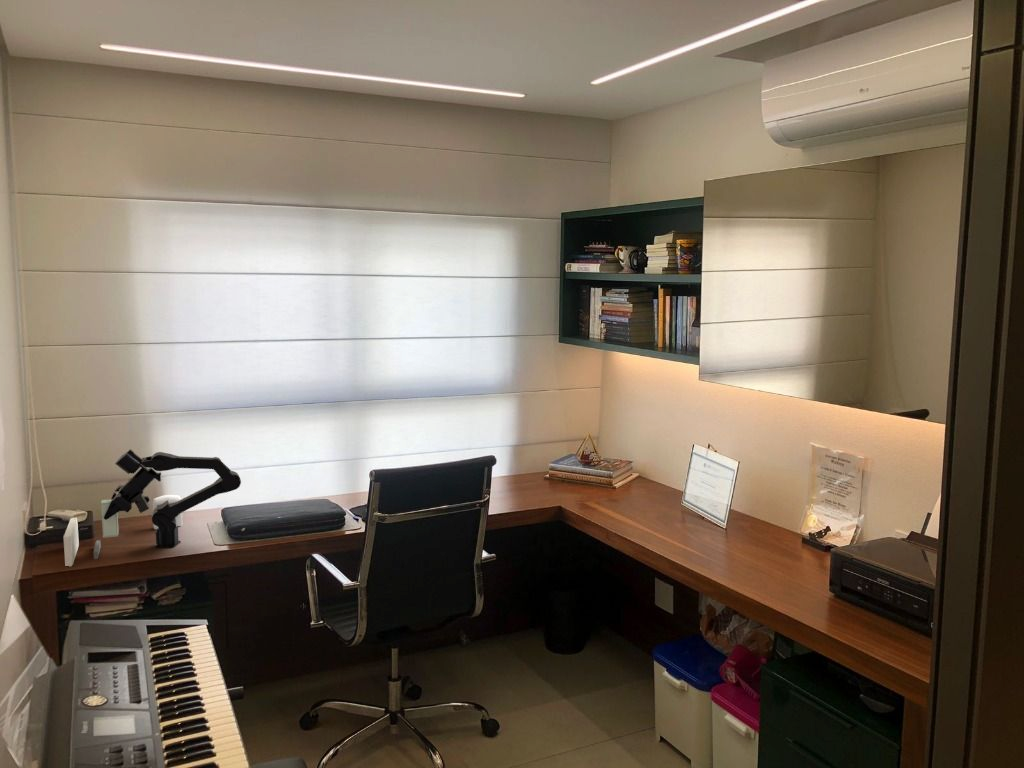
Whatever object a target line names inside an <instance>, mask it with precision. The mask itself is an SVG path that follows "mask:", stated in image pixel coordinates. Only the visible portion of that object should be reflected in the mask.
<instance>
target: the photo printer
mask: <svg viewBox="0 0 1024 768" xmlns="http://www.w3.org/2000/svg"><path fill="white" fill-rule="evenodd" d="M181 499H182V498H181V496H180V495H176V494H165V495H160V496H157V497H155V498H153V501H152V511H153V510H154V509H155V508H157V505H160V504H163V503H164V502H165V501H167V500H168V502H169V504H170V503H175V502H177V501H179V500H181ZM152 524H153V523H152ZM177 526H178V527H182V526H183V512H182V513H180V514H179V515H178V516H177V517H176V527H177ZM153 529H154V530H157V529H158V526H156V525H154V524H153Z"/></svg>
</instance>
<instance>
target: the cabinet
mask: <svg viewBox="0 0 1024 768" xmlns="http://www.w3.org/2000/svg"><path fill="white" fill-rule="evenodd" d="M111 501H112V499H101V503H100V508H101V509H100V510H101V527H102V538H115V537H119V517H118V516H119V515H118V513H119V512H118V513H116V514H114V515H113V516H111V517H110V518H108V519H107V520H105V519H104V516H105V513H106V511H107V509H108V507H109V505H110V503H111Z"/></svg>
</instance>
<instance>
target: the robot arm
mask: <svg viewBox="0 0 1024 768" xmlns="http://www.w3.org/2000/svg"><path fill="white" fill-rule="evenodd" d="M114 464H115V466H117V467H118V468H120V469H121V470H122V471H124V472H125V473H126V474H128V475H129V474H131V475H132V474H133V476H132V477H130V478H129V479H128V480H127V482H126V483H125V484H122V485H121V484H120V485H117V487H116V488H115V489H114V492H113V493H112V495H111V499H112V501H111V503H110V505H109V507H108V509H107V511H106V513H105V516H104V519H105V520H107V519H108V518H110V517H111V516H113V515H114V514H116V513H119V512H125V513H129V512H130V511H131V509H132V508H133V504H135V505H136V507H137V509H138V512H139V513H140V514H142V513H144V512H146V511H147V510H149V509H150V505H149V502H150V500H151V498H150V497H149V496H148V495H144V490H145V489H146V488H147V487H148V486H149V485H150V484H151V483H152V482H153V481H154V480H156V481H158V482H161V480H162V479H161V476H162V473H161V472H165V471H171V470H176V469H191V470H192V469H193V470H194V469H196V470H197V469H200V470H201V469H202V470H213V471H214V472H215V473H216V474H217V475H218V476H219V477H218V478H217V479H216V480H215V481H214V482H213V483H210V485H208V486H207V485H206V486H205V487H204V488H201V489H200V490H198V491H195V492H193V493H192V494H189V495H187V496H186V497H183V498H181V500H179V501H177V502H175V503H170V504H169V502H168V500H167V501H165V502H164V503H163V504H160V505H157V508H155V509H154V510H153V509H152V512H151V522H152V524H154V525H156V526H158V529H156V532H155V546H154V547H155V548H175V547H176V546H177V545H179V544H181V542H182V541H181V540H180V539H179V526H178V527H176V517H177V516H178V515H179V514H180V513H182V514H183V513H185V512H186V511H188V510H190V509H192V508H194V507H195V506H198V505H199V504H201V503H204V502H205V501H207V500H210V499H212V498H214V497H215V496H217V495H220V494H225V493H229V492H233V491H235V490H238V489H239V488H240V486H241V484H242V480H241V477H240V475H239V474H238V472H236V471H233V470H231V469H230V468H229V467H228V466H227V465H226V464H225V463H224V462H223V461H222V460H221V459H220V458H219V457H217V456H214V457H211V456H210V457H206V456H204V457H203V456H181V455H180V456H179V455H175V454H172V453H168V452H167V453H166V452H162V451H157V452H155V453H154V454H153V455H151V456H145V457H140V456H139V455H138V454H137V453H135V452H134V451H133V449H131V448H130V449H129V450H128V451H126V452H125V453H124V454H122V455H121V456H120V457H119V458H118V459H117V460H116V461H115V463H114Z"/></svg>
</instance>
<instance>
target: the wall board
mask: <svg viewBox="0 0 1024 768" xmlns="http://www.w3.org/2000/svg"><path fill="white" fill-rule="evenodd" d="M78 525H79V524H78V517H70V519H69V522H68V524H67V528H66V529H65V533H63V548H64V549H63V550H64V565H65V566H69V567H73V566H72V565H74V562H75V558H76V556H77V552H78V549H79V546H80V542H79V540H80V539H79V529H78V528H79V527H78ZM101 544H102V543H101V539H98V540H97V539H96V540H95V544H94V548H93V560H98V559H99V555H100V553H101V552H100V550H101Z"/></svg>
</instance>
